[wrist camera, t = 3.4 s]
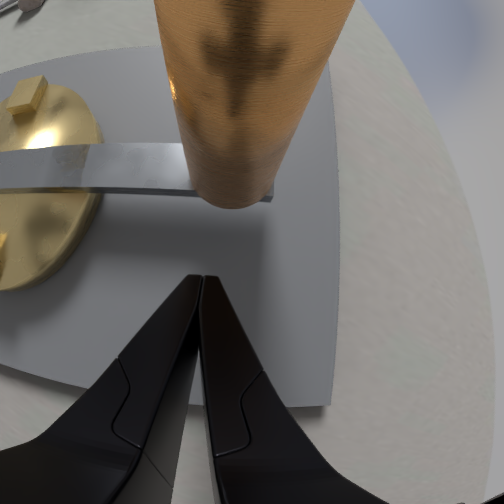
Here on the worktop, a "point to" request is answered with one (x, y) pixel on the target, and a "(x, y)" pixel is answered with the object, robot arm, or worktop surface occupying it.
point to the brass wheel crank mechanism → (188, 118)
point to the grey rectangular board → (187, 244)
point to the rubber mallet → (23, 4)
